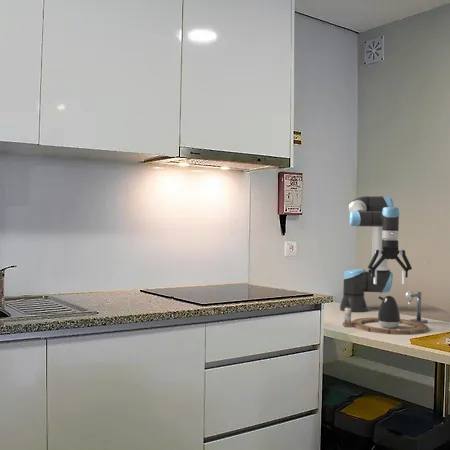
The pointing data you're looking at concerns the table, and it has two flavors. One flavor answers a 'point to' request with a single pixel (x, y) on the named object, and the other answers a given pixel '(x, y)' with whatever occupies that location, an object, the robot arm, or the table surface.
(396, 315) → the pump dispenser
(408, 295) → the dial indicator stand
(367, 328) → the turntable ring
